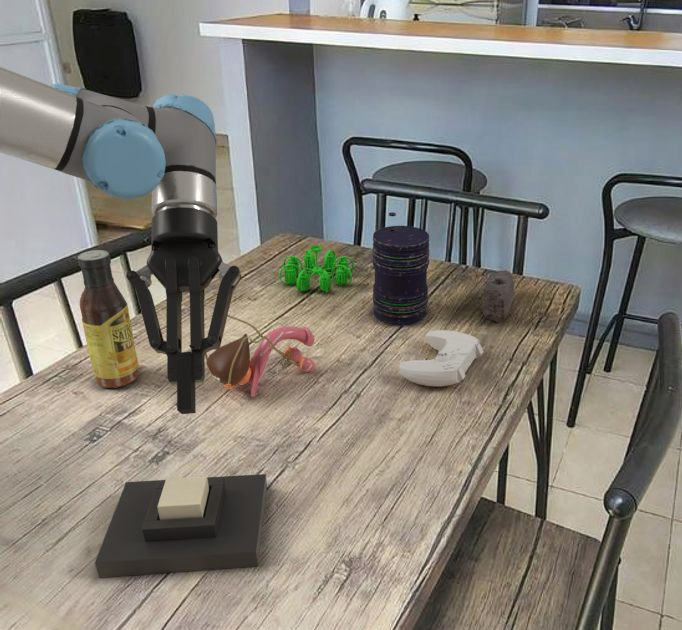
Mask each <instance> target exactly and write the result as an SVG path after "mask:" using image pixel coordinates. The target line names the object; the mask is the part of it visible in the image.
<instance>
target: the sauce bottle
mask: <svg viewBox="0 0 682 630" xmlns="http://www.w3.org/2000/svg"><path fill="white" fill-rule="evenodd" d="M77 262H78V266H79V267H80V270H81V274H82V279H83V285H84V289H83V291H82V292H81V294H80V299H79V309H80V314H81V322H82V323H81V324H82V327H83V332H84V337H85V341H86V346H87V351H88V355H89V360H90V365H91V369H92V373H93V376H95V377H94V379H95V381H96V384H97V385H98V386H99V387H102V388H106V389H117V388H122V387H124V386H127V385H129V384H131V383H133V382H134V381H136V380H137V378H138V376H139V361H138V354H137V348H136V344H135V337H134V332H133V326H132V322H131V316H130V311H129V310H130V309H129V305H128V303H127V300H126V299H125V297H124V296H123V294H122V292H121V290H120V289H119V287H118V286H117V284H116V283H115V279H114V277H113V272H112V267H111V263H112V259H111V255H110V253H109V251H106V250H103V249H93V250H88V251H85V252H82V253H79V255H78V256H77Z"/></svg>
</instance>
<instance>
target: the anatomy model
mask: <svg viewBox="0 0 682 630" xmlns="http://www.w3.org/2000/svg"><path fill="white" fill-rule="evenodd" d="M227 318H230V319H233V320H236V321H238V322H240V323H243V324H245V325H247V326H249V327H251V328H253V330H254V331H255V332H256V333H257V334H258V335H259V336H260V338H259V339H258V340H254V339H252V338H251V337H250V336H248V334H247V333H244V334H243V335H242V336H241V337H239V338H238V339H235V340H233V341H231V342H229V343H226V344H224V345H221V346H220V348H219V349H216V350H213V352H212V353H210V354H209V355H208V352H207V353H206V354H205V357H204V358H205V360H206V366H207V368H208V370H209V374H210V375H211V376H212V377H213V378H214V379H215V380H217V381H218V382H219V383H221V384H223V388H224V389H227V390H233V388H234V387H235V386H236V385H237V384H238V385H240V386H243V385H246V384H247V383H248V384H249V385H250V386H251V389H250V397H251V398H253V397H256V396H257V394H258V389H259V383H260V381H261V379H262V378H263V376H264V374H265V371H266V368H267V365H268V362H269V358H270V356H271V353H272V351H273V350H274V351H275V352H277V353H278V355H280V356H281V359H279V360H278V361H277V363H278V364H280V365H281V367H282V368H285V367H286V365H287V364H288V363H291V364H292V365H294V366H296V367H297V368H298V369H299V370H301V371H304V372H307V373H311V372H313V371H314V370H315V367H316V364H315V362H314V360H313V359H311V358H310V357H307V356H306V357H304V356H303V352H302V350H300V349H299V348H298V347H295V346H288V347H286V348H285V350H284V352H283V351H281V350H279V349H278V348H277V347H276V346H277V345H278V344H279V343H280V342H281V341H283V340H293V341H298V342H299V343H301V344H303V345H304V346H307V347H312V346H313V345H314V344H315V341H316V339H315V336H314V335H313V333H312V331H310V329H309V328H308V327H307V326H301V327H296V326H291V325H287V326H281V327H277V328H275V329H273V330H271V331H269V332H268V333H267V334H266V335H263V334H262V333H261V332H260V331H259V330H258V329H257V328H256V326H255V325H253V324H251V323H250V322H248V321H246V320H243V319H240V318H238V317H236V316H233V315H230V314H228V316H227ZM250 342H252V343H253V344H259V345H258V346H257V347H256V349H255V350H254V352H253V354H252V355H251V350H250Z"/></svg>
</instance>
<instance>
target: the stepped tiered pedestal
mask: <svg viewBox="0 0 682 630" xmlns="http://www.w3.org/2000/svg"><path fill="white" fill-rule="evenodd" d="M207 479H208V485H209V493H208V497H207V502H206V506H205V511H204V515H203V518H187V519H172V520H160V517H159V512H158V507H157V506H158V503H159V500H160V497H161V494H162V490H163V487H164V484H165V481H166V479H155V480H141V481H140V480H139V481H126V482H125V483H124V485H123V489H122V491H121V494H120V496H119V499H118V501H117V504H116V507H115V510H114V512H113V514H112V517H111V520H110V522H109V525H108V528H107V530H106V533H105V535H104V538H103V540H102V544H101V545H100V548H99V551H98V553H97V556H96V559H95V560H94V565H95V569H96V573H97V576H98V578H99V579H100V578H111V577H112V578H115V577H126V576H128V577H129V576H141V575H142V576H143V575H155V574H156V575H157V574H167V573H168V574H170V573H171V574H172V573H183V572H197V571H208V570H209V571H211V570H212V571H213V570H225V569H237V568H239V569H240V568H251V567H258V566H259V560H260V552H261V543H262V535H263V526H264V520H265V510H266V502H267V494H268V493H267V492H268V481H267V474H266V473H262V474H261V473H259V474H245V475H244V474H243V475H241V474H240V475H224V476H207Z"/></svg>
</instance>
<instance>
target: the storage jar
mask: <svg viewBox="0 0 682 630" xmlns="http://www.w3.org/2000/svg"><path fill="white" fill-rule="evenodd" d="M388 216H389V217H396V216H397V213H396V212H393V211H392V212H389V213H388ZM372 241H373V242H372V266H373V268H374V283H373V286H372V291H373V292H372V303H373V304H372V305H373V306H372V307H373V317H374V318H375V319H376V320H377V321H378V322H380V323H382V324H385V325H388V326H393V327H394V326H395V327H408V326H413V325H417V324H419V323H421V322H423V321H424V320H425V319H426V318H427V316H428V315H427V314H428V310H427V308H428V302H429V294H428V293H429V287H428V284H427V280H428V269H429V264H430V234H429V233H428V232H427V231H426V230H424V229H422V228H420V227H417V226H416V227H415V226H409V225H389V226H385V227H381V228H379V229H376V230H375V231H374V232H373V233H372Z"/></svg>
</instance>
